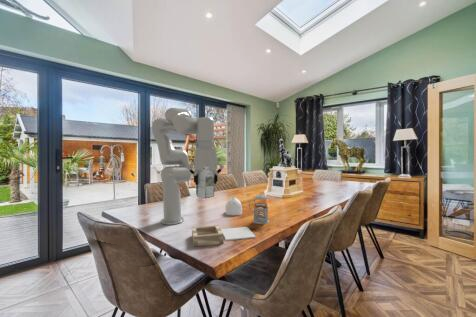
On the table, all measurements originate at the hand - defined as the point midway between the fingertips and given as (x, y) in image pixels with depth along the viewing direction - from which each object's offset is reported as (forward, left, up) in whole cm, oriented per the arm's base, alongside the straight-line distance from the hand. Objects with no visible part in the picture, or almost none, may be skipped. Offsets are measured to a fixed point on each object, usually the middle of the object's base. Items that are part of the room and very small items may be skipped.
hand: (205, 183), depth 107 cm
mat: (-3, +15, -26) cm, 30 cm away
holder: (0, 0, -26) cm, 26 cm away
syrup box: (0, 0, -6) cm, 6 cm away
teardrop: (-40, +22, -26) cm, 52 cm away
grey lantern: (-19, +32, -26) cm, 45 cm away
